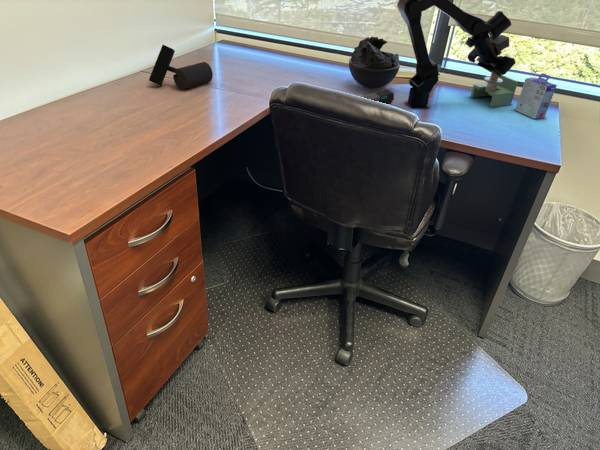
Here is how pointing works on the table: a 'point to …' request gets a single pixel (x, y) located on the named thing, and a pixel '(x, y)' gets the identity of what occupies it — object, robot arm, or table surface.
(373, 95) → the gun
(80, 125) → the table surface
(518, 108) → the ink cartridge box
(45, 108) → the table surface
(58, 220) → the table surface
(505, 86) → the rack
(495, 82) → the cylinder on round base
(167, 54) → the track light
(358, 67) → the bowl of black rocks
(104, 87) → the table surface
